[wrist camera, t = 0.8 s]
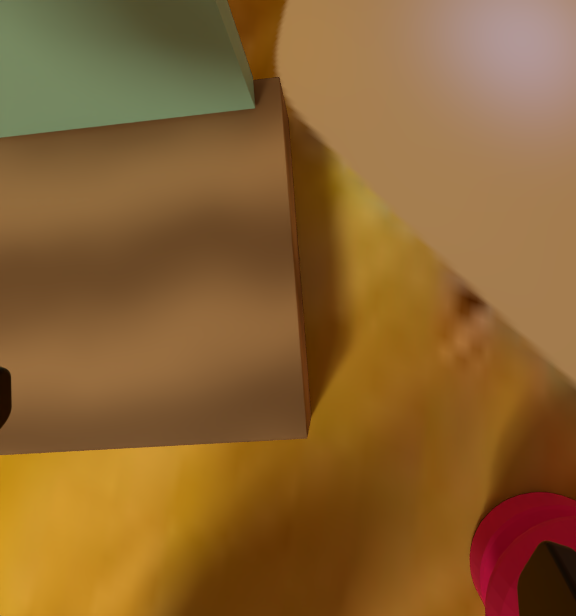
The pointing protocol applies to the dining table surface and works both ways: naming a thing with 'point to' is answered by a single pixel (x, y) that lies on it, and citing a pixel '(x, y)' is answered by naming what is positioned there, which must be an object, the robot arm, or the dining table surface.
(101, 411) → the brown flat block
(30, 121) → the tailgate
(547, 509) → the pepper mill
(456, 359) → the dining table surface
